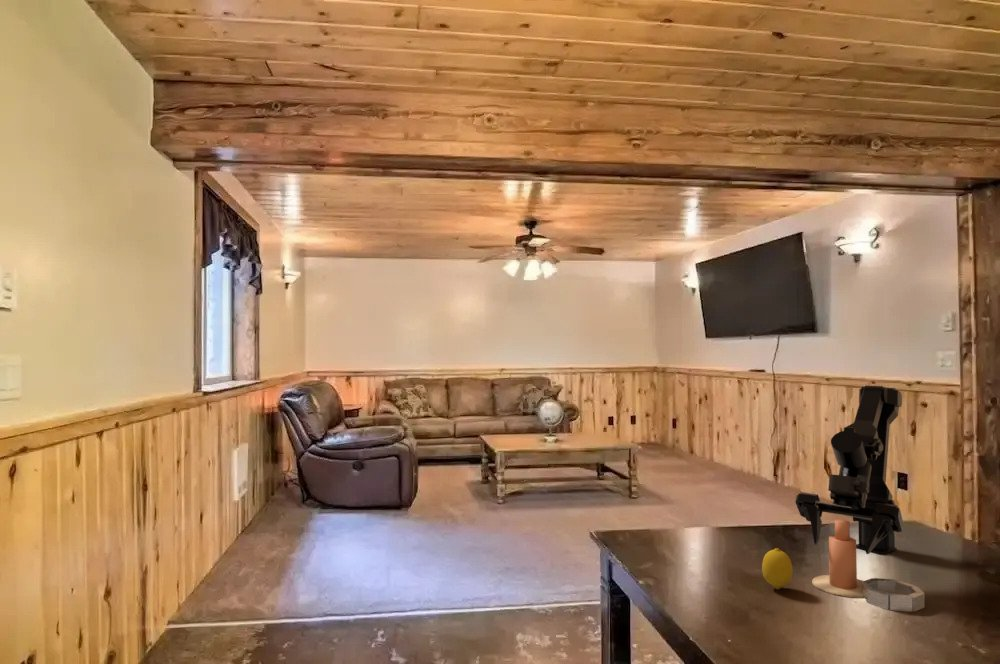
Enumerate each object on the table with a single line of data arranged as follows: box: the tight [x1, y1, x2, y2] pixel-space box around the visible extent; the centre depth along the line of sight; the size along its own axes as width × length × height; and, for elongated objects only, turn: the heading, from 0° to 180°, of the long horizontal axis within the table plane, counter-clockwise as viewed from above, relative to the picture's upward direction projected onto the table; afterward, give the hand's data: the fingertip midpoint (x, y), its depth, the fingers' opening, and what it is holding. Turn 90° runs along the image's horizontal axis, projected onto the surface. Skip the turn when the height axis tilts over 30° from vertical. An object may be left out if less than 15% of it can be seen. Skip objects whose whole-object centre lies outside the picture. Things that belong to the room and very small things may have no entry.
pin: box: [828, 519, 858, 589], centre depth 130 cm, size 5×5×12 cm
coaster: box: [811, 574, 864, 598], centre depth 130 cm, size 11×11×1 cm
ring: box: [862, 577, 926, 613], centre depth 122 cm, size 9×9×2 cm
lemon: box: [761, 547, 794, 590], centre depth 129 cm, size 6×6×8 cm
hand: (840, 548), depth 129 cm, fingers open, 9 cm apart
